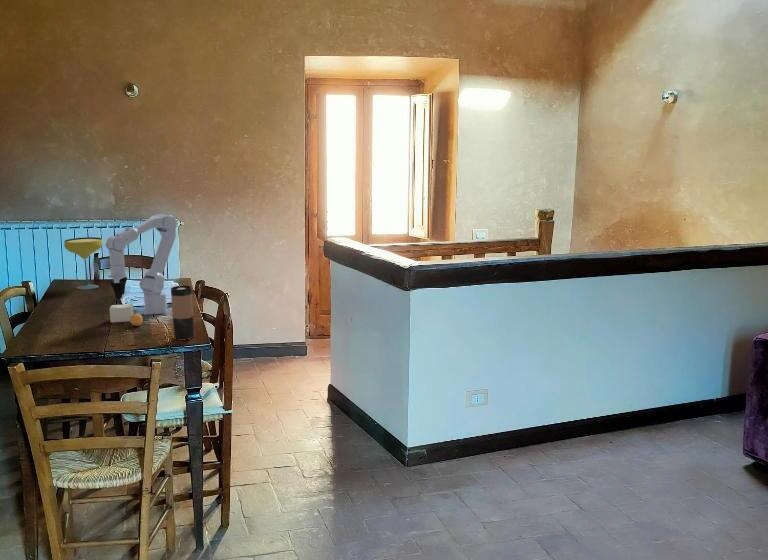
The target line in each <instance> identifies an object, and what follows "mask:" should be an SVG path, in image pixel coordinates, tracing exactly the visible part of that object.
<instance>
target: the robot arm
mask: <svg viewBox="0 0 768 560" xmlns="http://www.w3.org/2000/svg"><path fill="white" fill-rule="evenodd" d="M177 226H178V222H177V220H176V218H175V216H174V215H172V214H160V213H156V214H154V215H151V216H150V217H149V218H148V219H146V220H144V221H143V222H141V223H140V224H138V225H137V226H135V227H131V226H130V227H129V226H127V227H125V228H124V230H122V231H121V232H117V233H116V234H115V236H113V235H111V236H109V237H108V238H107V239H106V242H105V244H104V245H105V247H106V249H107V250H108V254H109V255H108V256H109V264H110V274H109V275H108V276H107V277H108V278H111V279H113V281H110V282H109V285H110V286H111V288H112V291H113V292H114V296H115V298H116V299H119V300H120V299H122V298H123V295H125V290H126V284H127V280H128V276H127V273H126V264H125V263H126V262H125V248H126V247H127V246H128V245H130V244H132V243H133V242H135V241H137V240H138V239H139V235H141V234H143V233H146V232H147V231H150V230H152V229H154V228H155V230H157V231H158V232H159V234H160V236H161V239H160V241H159V243H158V246H157V250H156V252H155V254H154V255H155V256H154V257H153V260H152V263H151V266H150V267H149V268H150V269H149V270H148V271H146V272H145V273H144V276H143V277H142V278H141V279H140V281H139V288H140V290H142V292H143V300H144V312H143V315H144V316H146V315H161V314H162V315H165V314H167V311H168V303H167V293H166V292H164V291H163V290H164V287H165V285H164V283H165V277H164V275H163V273H164V271H165V268H166V265H167V262H168V259H169V257H170V253H171V251H172V247H173V246H174V243H175V239H176V236H177V235H176V234H177V230H176V229H177Z"/></svg>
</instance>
